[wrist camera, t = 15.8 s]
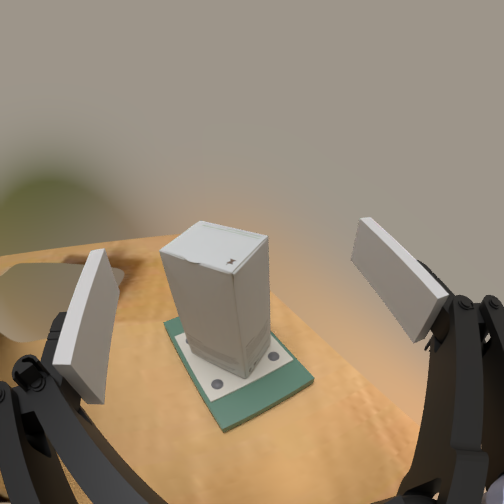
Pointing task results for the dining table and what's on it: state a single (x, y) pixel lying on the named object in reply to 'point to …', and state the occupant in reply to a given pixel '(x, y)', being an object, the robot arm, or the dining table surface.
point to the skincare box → (221, 293)
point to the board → (241, 380)
